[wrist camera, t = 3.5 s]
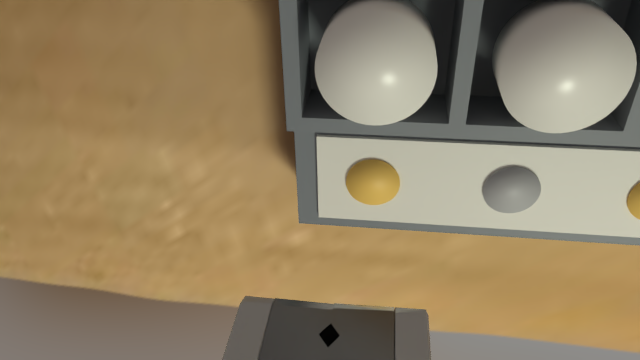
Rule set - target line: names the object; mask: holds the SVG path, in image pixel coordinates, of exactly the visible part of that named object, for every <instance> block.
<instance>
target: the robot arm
mask: <svg viewBox="0 0 640 360" xmlns="http://www.w3.org/2000/svg"><path fill="white" fill-rule="evenodd" d="M222 360H431V351H430V336H429V320H428V314H427V312H426V310H424V309H409V308H395V309H394V307H382V306H366V305H351V304H335V303H334V304H327V303H317V302H307V301H297V300H287V299H277V298H275V299H272V298H262V297H252V296H245V297H244V299H243V300H242V302H241V303H240V306H239V309H238V312H237V315H236V319H235V321H234V325H233V328H232V331H231V334H230V337H229V340H228V343H227V346H226V349H225V352H224V356H223V359H222Z"/></svg>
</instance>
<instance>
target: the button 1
mask: <svg viewBox="0 0 640 360" xmlns="http://www.w3.org/2000/svg"><path fill="white" fill-rule="evenodd" d="M437 68H438V65H437V56H436V49H435V41H434V35H433V31H432V28H431V25H430V23H429V21H428V19H427V18H426V16H425V15H424V14H423V12H422V11H421V10H420V9H419V8H418V7H417V6H416V5H415V4H413V3H412V2H410V1H409V0H349V1H348V2H346V3H345V4H343V5H342V6H341V7H340V8H339V9H338V10H337V11H336V12H335V13H334V14H333V16H332V17H331V19H330V20H329V22H328V24H327V26H326V29H325V31H324V34H323V37H322V40H321V42H320V45H319V48H318V51H317V54H316V59H315V78H316V82H317V85H318V88H319V91H320V92H321V94H322V96H323V98H324V99H325V101H326V102H327V103H328V104H329V106H330V107H331V108H332V109H333V110H335V111H336V112H337V113H338V114H340V115H341V116H343V117H345V118H347V119H349V120H351V121H354V122H356V123H360V124H365V125H387V124H392V123H396V122H398V121H401V120H403V119H405V118H407V117H409V116H410V115H412V114H413V113H415V112H416V111H417V110H418V109H419V108H421V107H422V105H423V104H424V103H425V102H426V101H427V99H428V98H429V96H430V95H431V92H432V90H433V88H434V85H435V82H436V78H437Z"/></svg>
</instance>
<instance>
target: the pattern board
mask: <svg viewBox="0 0 640 360" xmlns="http://www.w3.org/2000/svg"><path fill="white" fill-rule="evenodd" d="M348 1H349V0H279V12H280V28H281V45H282V61H283V77H284V94H285V110H286V126H287V131H294V137H295V156H296V175H297V194H298V213H299V223H305V224H320V225H336V226H351V227H366V228H382V229H397V230H412V231H427V232H443V233H458V234H473V235H489V236H504V237H519V238H534V239H550V240H565V241H580V242H596V243H611V244H626V245H640V0H590V1H592V2H594V3H595V4H597V5H598V6H599V7H601V8H602V9H603V10H604V11H605V12H606V13H607V14H608V15H609V16H610V17H611V18H612V19H613V20H614V21H615V22H616V23H617V24H618V25H619V26H620V27H621V28H622V29H623V30H624V31H625V33H626V34H627V35H628V36H629V38H630V39H631V41H632V43H633V46H634V48H635V53H636V60H637V66H636V74H635V77H634V81H633V83H632V86H631V88H630V90H629V92H628V93H627V95H626V97H625V98H624V99H623V101H622V102H621V103H620V104H619V105H618V106H617V107H616V109H614V110H613V111H612V112H611V113H610V114H609V115H607V116H606V117H605V118H603V119H602V120H600V121H598V122H597V123H595V124H593V125H591V126H588V127H586V128H583V129H580V130H577V131H572V132H567V133H545V132H540V131H536V130H533V129H530V128H528V127H526V126H524V125H523V124H521V123H520V122H518V121H517V120H516V119H515V118H514V117H513V116H512V115H511V114H510V113H509V111H508V110H507V108H506V106H505V105H504V102H503V99H502V96H501V93H500V90H499V87H498V84H497V82H496V79H495V76H494V72H493V67H492V55H493V49H494V45H495V42H496V40H497V37H498V36H499V34H500V32H501V30H502V29H503V27H504V26H505V24H506V23H507V22H508V21H509V20H510V19H511V18H512V17H513V16H514V15H515V14H516V13H517V12H519V11H520V10H521V9H523V8H524V7H526V6H528V5H529V4H531V3H533V2H536V1H538V0H409V1H410V2H412V3H413V4H415V5H416V6H417V7H418V8H419V9H420V10H421V11H422V12H423V14H424V15H425V16H426V18H427V19H428V21H429V23H430V25H431V28H432V31H433V35H434V41H435V49H436V56H437V65H438V68H437V78H436V82H435V85H434V88H433V90H432V92H431V95H430V96H429V98H428V99H427V101H426V102H425V103H424V104H423V105H422V107H421V108H419V109H418V110H417V111H416V112H415V113H413V114H412V115H410V116H409V117H407V118H405V119H403V120H401V121H398V122H396V123H392V124H387V125H365V124H360V123H356V122H354V121H351V120H349V119H347V118H345V117H343V116H341V115H340V114H338V113H337V112H336V111H335V110H333V109H332V108H331V107H330V106H329V104H328V103H327V102H326V101H325V99H324V98H323V96H322V94H321V92H320V91H319V88H318V85H317V82H316V78H315V59H316V54H317V51H318V48H319V45H320V42H321V40H322V37H323V34H324V31H325V29H326V26H327V24H328V22H329V20H330V19H331V17H332V16H333V14H334V13H335V12H336V11H337V10H338V9H339V8H340V7H341V6H342V5H343V4H345V3H346V2H348Z"/></svg>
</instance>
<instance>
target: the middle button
mask: <svg viewBox="0 0 640 360" xmlns="http://www.w3.org/2000/svg"><path fill="white" fill-rule="evenodd" d="M636 66H637V60H636V53H635V48H634V46H633V43H632V41H631V39H630V38H629V36H628V35H627V34H626V33H625V31H624V30H623V29H622V28H621V27H620V26H619V25H618V24H617V23H616V22H615V21H614V20H613V19H612V18H611V17H610V16H609V15H608V14H607V13H606V12H605V11H604V10H603V9H602V8H601V7H599V6H598V5H597V4H595V3H594V2H592V1H590V0H538V1H536V2H533V3H531V4H529V5H528V6H526V7H524V8H523V9H521V10H520V11H519V12H517V13H516V14H515V15H514V16H513V17H512V18H511V19H510V20H509V21H508V22H507V23H506V24H505V26H504V27H503V29H502V30H501V32H500V34H499V36H498V37H497V40H496V42H495V45H494V49H493V55H492V67H493V72H494V76H495V79H496V82H497V84H498V87H499V90H500V93H501V96H502V99H503V102H504V105H505V106H506V108H507V110H508V111H509V113H510V114H511V115H512V116H513V117H514V118H515V119H516V120H517V121H518V122H520V123H521V124H523V125H524V126H526V127H528V128H530V129H533V130H536V131H540V132H545V133H567V132H572V131H577V130H580V129H583V128H586V127H588V126H591V125H593V124H595V123H597V122H598V121H600V120H602V119H603V118H605V117H606V116H607V115H609V114H610V113H611V112H612V111H613V110H614V109H616V107H617V106H618V105H619V104H620V103H621V102H622V101H623V99H624V98H625V97H626V95H627V93H628V92H629V90H630V88H631V86H632V83H633V81H634V77H635V74H636Z"/></svg>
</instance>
